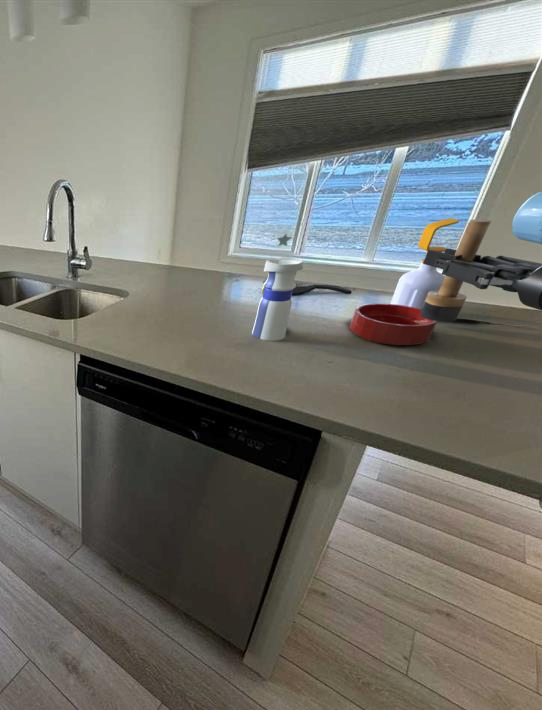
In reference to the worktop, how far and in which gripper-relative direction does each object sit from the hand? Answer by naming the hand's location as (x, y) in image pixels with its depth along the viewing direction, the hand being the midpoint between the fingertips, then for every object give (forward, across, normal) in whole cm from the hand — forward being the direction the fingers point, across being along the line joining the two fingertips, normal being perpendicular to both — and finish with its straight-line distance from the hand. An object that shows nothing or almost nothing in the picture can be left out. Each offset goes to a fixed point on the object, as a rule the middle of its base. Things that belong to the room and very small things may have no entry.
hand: (436, 256), depth 82 cm
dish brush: (-5, 0, -11) cm, 12 cm away
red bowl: (+9, +5, -22) cm, 24 cm away
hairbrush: (+45, +5, -22) cm, 50 cm away
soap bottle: (+19, +18, -22) cm, 34 cm away
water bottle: (+15, -22, -22) cm, 34 cm away
